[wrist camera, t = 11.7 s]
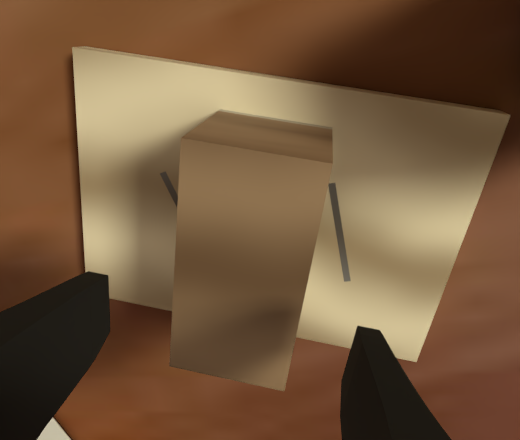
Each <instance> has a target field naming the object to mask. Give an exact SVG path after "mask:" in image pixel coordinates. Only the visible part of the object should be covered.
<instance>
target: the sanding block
mask: <svg viewBox="0 0 520 440" xmlns="http://www.w3.org/2000/svg"><path fill="white" fill-rule="evenodd" d="M332 166H333V138H332V127H327V126H321V125H314V124H308V123H302V122H296V121H290V120H284V119H278V118H272V117H266V116H259V115H253V114H247V113H241V112H235V111H229V110H223V109H221V110H219V111H218V112H216V113H215V114H214V115H212V116H211V117H209V118H208V119H207V120H205V121H204V122H202V123H201V124H200V125H198V126H197V127H195V128H194V129H193V130H191V131H190V132H188V133H187V134H186V135H184V136H183V137H181V144H180V164H179V184H178V204H177V225H176V245H175V265H174V285H173V305H172V325H171V345H170V365H169V366H171V367H175V368H180V369H185V370H189V371H194V372H198V373H203V374H207V375H212V376H217V377H221V378H226V379H230V380H235V381H239V382H244V383H248V384H253V385H258V386H262V387H267V388H271V389H276V390H280V391H284V390H285V386H286V381H287V376H288V372H289V367H290V362H291V358H292V353H293V348H294V344H295V339H296V334H297V330H298V325H299V320H300V316H301V311H302V306H303V302H304V297H305V292H306V287H307V283H308V278H309V273H310V269H311V264H312V259H313V255H314V250H315V245H316V241H317V236H318V231H319V227H320V222H321V217H322V213H323V208H324V203H325V199H326V194H327V189H328V185H329V180H330V175H331V171H332Z"/></svg>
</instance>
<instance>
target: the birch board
mask: <svg viewBox="0 0 520 440" xmlns="http://www.w3.org/2000/svg"><path fill="white" fill-rule="evenodd" d="M72 51H73V68H74V85H75V102H76V119H77V137H78V154H79V171H80V188H81V205H82V222H83V239H84V256H85V273H86V272H88V271H90V272H95V273H100V274H105V275H108V277H109V298H110V299H115V300H120V301H125V302H129V303H134V304H139V305H144V306H149V307H154V308H158V309H163V310H168V311H172V305H173V285H174V265H175V245H176V225H177V204H178V184H179V164H180V144H181V137H183V136H184V135H186V134H187V133H188V132H190V131H191V130H193V129H194V128H195V127H197V126H198V125H200V124H201V123H202V122H204V121H205V120H207V119H208V118H209V117H211V116H212V115H214V114H215V113H216V112H218V111H219V110H221V109H223V110H229V111H235V112H241V113H247V114H253V115H259V116H266V117H272V118H278V119H284V120H290V121H296V122H302V123H308V124H314V125H321V126H327V127H332V138H333V166H332V171H331V175H330V180H329V185H328V189H327V194H326V199H325V203H324V208H323V213H322V217H321V222H320V227H319V231H318V236H317V241H316V245H315V250H314V255H313V259H312V264H311V269H310V273H309V278H308V283H307V287H306V292H305V297H304V302H303V306H302V311H301V316H300V320H299V325H298V330H297V334H296V337H298V338H303V339H308V340H313V341H317V342H322V343H327V344H332V345H337V346H342V347H346V348H351V346H352V343H353V339H354V336H355V332H356V329H357V326H362V327H367V328H372V329H377V330H380V331H381V333H382V334H383V336H384V338H385V339H386V341H387V343H388V345H389V346H390V348H391V350H392V352H393V353H394V355H395V357H396V358H399V359H404V360H409V361H414V362H417V359H418V356H419V354H420V351H421V348H422V346H423V343H424V341H425V338H426V335H427V333H428V330H429V328H430V325H431V322H432V320H433V317H434V314H435V312H436V309H437V307H438V304H439V301H440V299H441V296H442V294H443V291H444V288H445V286H446V283H447V281H448V278H449V275H450V273H451V270H452V267H453V265H454V262H455V260H456V257H457V254H458V252H459V249H460V247H461V244H462V241H463V239H464V236H465V233H466V231H467V228H468V226H469V223H470V220H471V218H472V215H473V213H474V210H475V207H476V205H477V202H478V199H479V197H480V194H481V192H482V189H483V186H484V184H485V181H486V179H487V176H488V173H489V171H490V168H491V166H492V163H493V160H494V158H495V155H496V152H497V150H498V147H499V145H500V142H501V139H502V137H503V134H504V132H505V129H506V126H507V124H508V121H509V118H510V116H511V115H509V114H507V113H505V112H503V111H501V110H495V109H488V108H482V107H475V106H469V105H462V104H456V103H449V102H443V101H436V100H430V99H423V98H417V97H410V96H404V95H398V94H391V93H385V92H378V91H372V90H365V89H359V88H352V87H346V86H339V85H333V84H326V83H320V82H313V81H307V80H300V79H294V78H287V77H281V76H274V75H268V74H261V73H255V72H248V71H242V70H235V69H229V68H222V67H216V66H209V65H203V64H196V63H190V62H184V61H177V60H171V59H164V58H158V57H151V56H145V55H138V54H132V53H125V52H119V51H112V50H106V49H99V48H93V47H86V46H84V47H72Z"/></svg>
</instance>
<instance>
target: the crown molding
mask: <svg viewBox="0 0 520 440" xmlns="http://www.w3.org/2000/svg"><path fill="white" fill-rule="evenodd" d="M37 440H72V439H71V438H70V437H69V436H68V434H67V433H66V432H65V431H64V429H63V428H62V427H61V426H60V425H59V423H58V422H57V421H56V420H55V418H54V417H53V418H52V419H51V420H50V422H49V423H48V424H47V426H46V427H45V428H44V430H43V431H42V433H41V434H40V436H39V437H38V439H37Z"/></svg>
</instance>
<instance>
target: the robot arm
mask: <svg viewBox="0 0 520 440" xmlns="http://www.w3.org/2000/svg"><path fill="white" fill-rule="evenodd" d="M109 332H110V309H109V277H108V275H105V274H100V273H95V272H90V271H88V272H86V273H83V274H81V275H79V276H76V277H74V278H72V279H70V280H68V281H66V282H64V283H62V284H60V285H58V286H56V287H53V288H51V289H49V290H47V291H45V292H43V293H41V294H39V295H37V296H35V297H33V298H31V299H28V300H26V301H24V302H22V303H20V304H18V305H16V306H13V307H11V308H9V309H6V310H4V311H2V312H0V440H37V439H38V437H39V436H40V434H41V433H42V431H43V430H44V428H45V427H46V426H47V424H48V423H49V422H50V420H51V419H52V418H53V416H54V415H55V414H56V412H57V411H58V409H59V408H60V407H61V405H62V404H63V403H64V401H65V400H66V399H67V397H68V396H69V395H70V393H71V392H72V390H73V389H74V388H75V386H76V385H77V384H78V382H79V381H80V380H81V378H82V377H83V375H84V374H85V373H86V371H87V370H88V369H89V367H90V366H91V364H92V363H93V361H94V360H95V358H96V356H97V354H98V353H99V351H100V349H101V347H102V346H103V344H104V342H105V340H106V338H107V336H108V334H109ZM340 418H341V432H342V440H451V439H450V437H449V436H448V435H447V433H446V432H445V431H444V430H443V428H442V427H441V426H440V424H439V423H438V421H437V420H436V419H435V417H434V416H433V415H432V413H431V412H430V410H429V409H428V408H427V406H426V405H425V403H424V402H423V400H422V399H421V397H420V396H419V394H418V393H417V391H416V389H415V388H414V386H413V385H412V383H411V382H410V380H409V379H408V377H407V375H406V374H405V372H404V370H403V369H402V367H401V365H400V364H399V362H398V360H397V359H396V357H395V355H394V353H393V352H392V350H391V348H390V346H389V345H388V343H387V341H386V339H385V338H384V336H383V334H382V333H381V331H380V330H377V329H372V328H367V327H362V326H357V329H356V332H355V336H354V339H353V343H352V346H351V350H350V353H349V357H348V360H347V364H346V367H345V371H344V374H343V378H342V384H341V411H340Z"/></svg>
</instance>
